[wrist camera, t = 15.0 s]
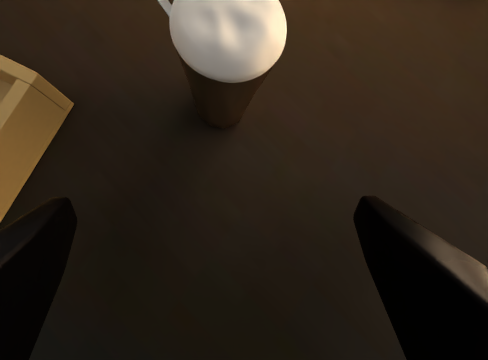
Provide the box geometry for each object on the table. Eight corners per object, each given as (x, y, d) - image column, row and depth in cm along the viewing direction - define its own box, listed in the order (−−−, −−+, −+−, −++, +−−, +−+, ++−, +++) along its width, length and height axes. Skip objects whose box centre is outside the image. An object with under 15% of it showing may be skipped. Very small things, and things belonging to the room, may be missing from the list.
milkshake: (180, 64, 19) (149, -100, 9) (259, 80, 20) (309, -60, 10) (167, 129, 18) (120, 27, 8) (249, 143, 19) (293, 63, 9)
